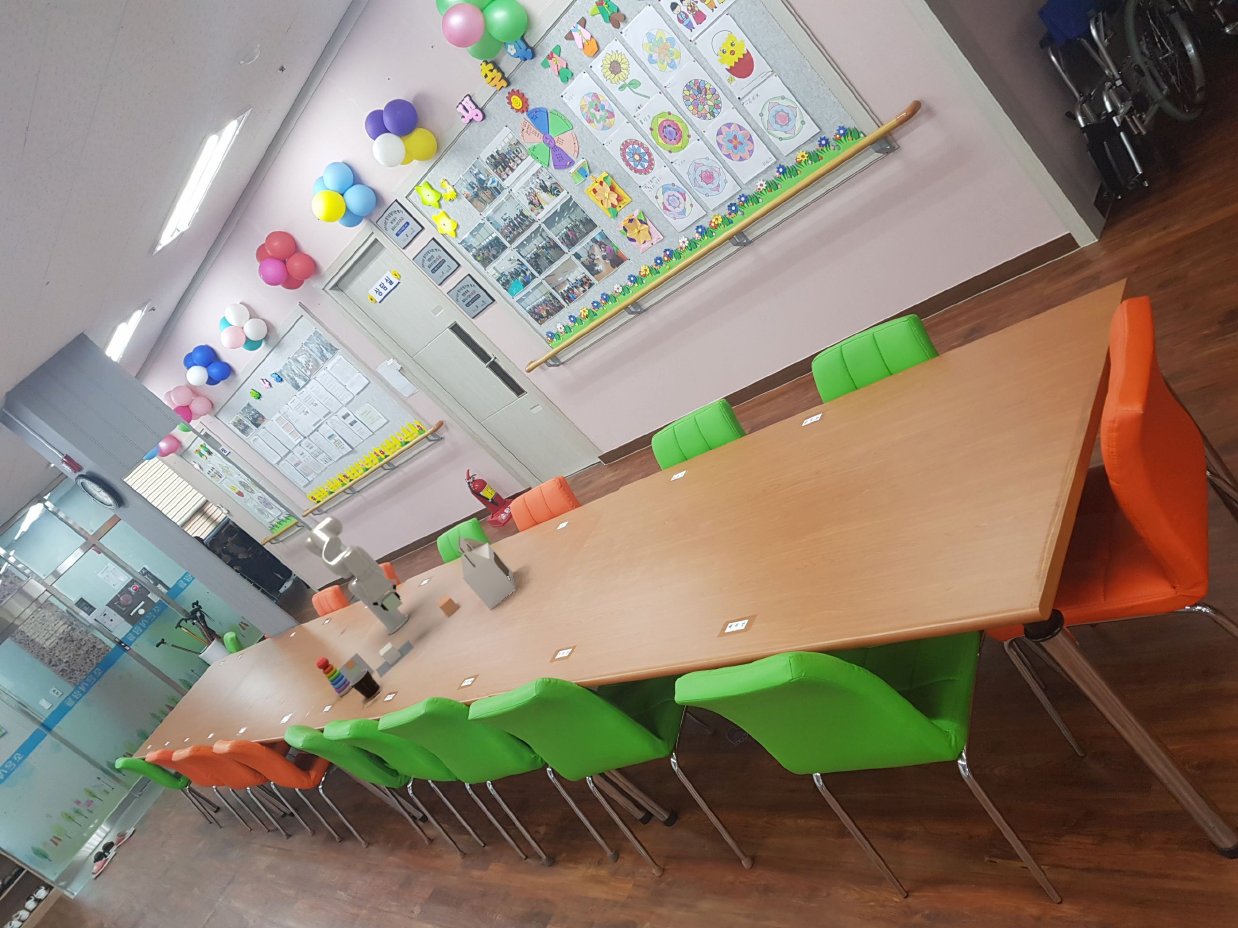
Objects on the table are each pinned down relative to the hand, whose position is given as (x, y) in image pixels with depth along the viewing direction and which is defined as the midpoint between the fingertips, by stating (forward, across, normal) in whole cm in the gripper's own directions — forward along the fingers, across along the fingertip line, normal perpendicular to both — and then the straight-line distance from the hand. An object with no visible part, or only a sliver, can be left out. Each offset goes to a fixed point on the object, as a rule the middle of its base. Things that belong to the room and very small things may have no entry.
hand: (393, 604), depth 351 cm
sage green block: (+1, 0, 0) cm, 1 cm away
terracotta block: (+20, +16, 0) cm, 26 cm away
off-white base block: (+18, -14, 0) cm, 23 cm away
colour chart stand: (+19, -29, +9) cm, 36 cm away
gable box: (+20, +35, -29) cm, 49 cm away
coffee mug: (+20, -30, -15) cm, 39 cm away
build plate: (+19, -14, 0) cm, 24 cm away
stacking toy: (+20, -38, +19) cm, 47 cm away
